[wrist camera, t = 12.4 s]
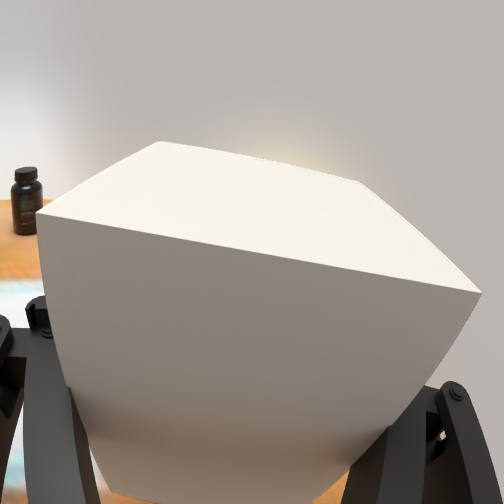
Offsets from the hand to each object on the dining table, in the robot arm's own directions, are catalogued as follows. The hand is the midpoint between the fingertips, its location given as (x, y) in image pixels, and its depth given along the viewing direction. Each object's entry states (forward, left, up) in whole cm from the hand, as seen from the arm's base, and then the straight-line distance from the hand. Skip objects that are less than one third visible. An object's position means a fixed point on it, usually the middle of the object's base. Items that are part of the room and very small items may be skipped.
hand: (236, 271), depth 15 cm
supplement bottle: (+21, +49, -20) cm, 57 cm away
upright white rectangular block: (-4, -2, -7) cm, 8 cm away
